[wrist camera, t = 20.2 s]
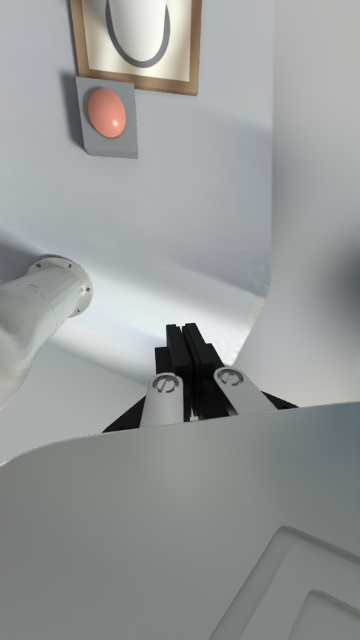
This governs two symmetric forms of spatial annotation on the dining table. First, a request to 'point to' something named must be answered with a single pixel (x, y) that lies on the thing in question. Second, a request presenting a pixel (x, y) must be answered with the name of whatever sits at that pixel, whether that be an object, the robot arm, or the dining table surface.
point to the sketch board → (115, 65)
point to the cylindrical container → (138, 26)
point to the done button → (107, 113)
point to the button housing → (92, 139)
